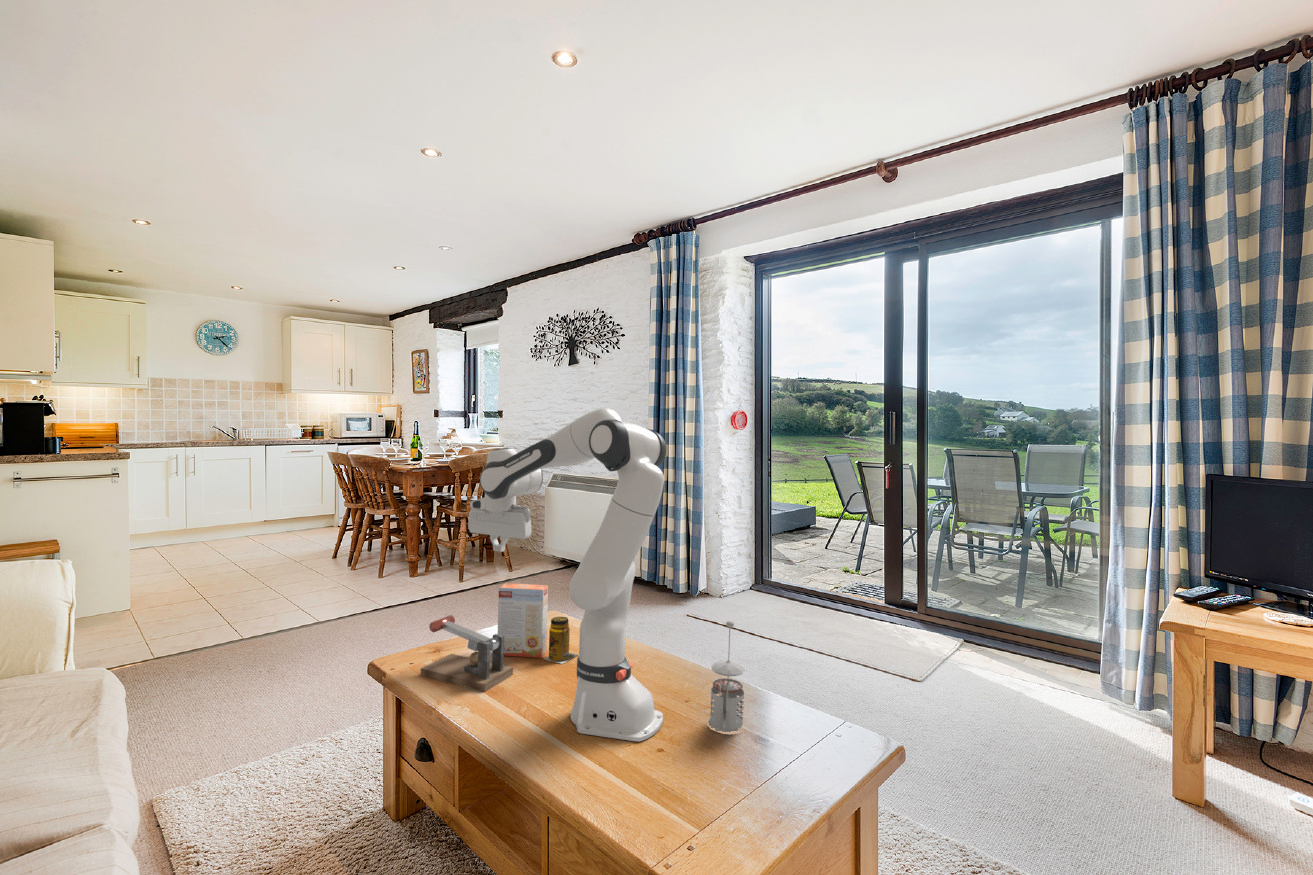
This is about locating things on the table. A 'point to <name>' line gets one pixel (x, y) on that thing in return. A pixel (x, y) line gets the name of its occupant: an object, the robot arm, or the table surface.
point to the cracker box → (523, 619)
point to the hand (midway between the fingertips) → (498, 550)
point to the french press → (727, 695)
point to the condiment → (559, 641)
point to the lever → (463, 633)
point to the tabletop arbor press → (472, 668)
